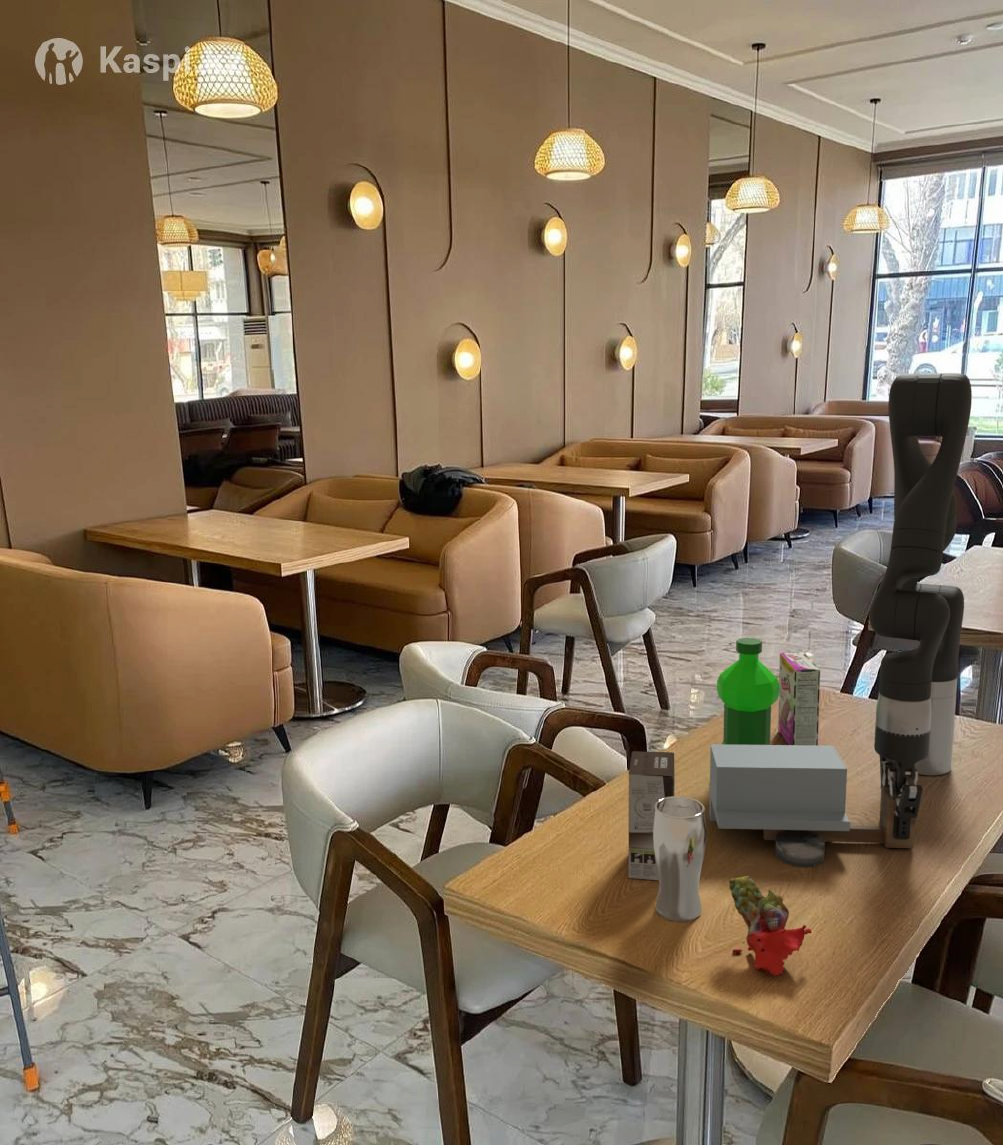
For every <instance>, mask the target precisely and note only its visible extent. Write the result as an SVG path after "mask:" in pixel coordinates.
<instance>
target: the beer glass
mask: <svg viewBox="0 0 1003 1145" xmlns="http://www.w3.org/2000/svg"><path fill="white" fill-rule="evenodd" d="M654 807H655V810H654V820H653V848H654V855H655V861H656V866H657V871H658V878H659V880H658V891H657V897H656V901H655V910H656V913H657V914H659V916H661V917H662V918H664V919H665V920H668V921H672V922H676V923H677V922H678V923H679V922H680V923H684V922H685V923H686V922H691V921H694V920H696V919H697V918H699V917H700V916H701V913H702V911H703V910H702V908H703V907H702V902H701V898H700V879H701V874H702V870H703V869H702V868H703V863H704V859H705V855H706V854H705V853H706V846H707V826H706V811H705V810H706V808H705V805H704V804H703V803H702V802H701V801H699V800H697V799H696V798H692V797H687V796H682V795H681V796H680V795H674V796H671V797H665V798H662V799H660V800H658V801H657V802H656V803H655V806H654Z"/></svg>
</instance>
